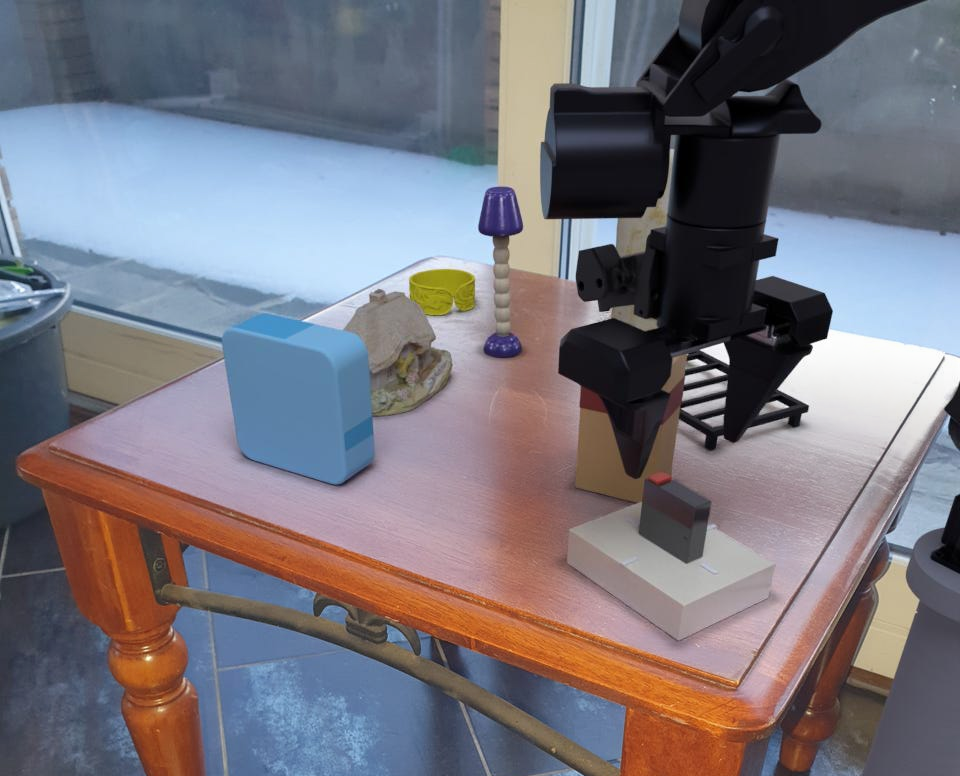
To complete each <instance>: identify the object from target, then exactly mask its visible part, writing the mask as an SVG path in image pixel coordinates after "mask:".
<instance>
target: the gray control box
mask: <svg viewBox="0 0 960 776" xmlns="http://www.w3.org/2000/svg"><path fill="white" fill-rule="evenodd" d="M712 503H713V502H712V500H710V499H709V498H708V497H706V496H703V495H701V494H699V493H698V492H696V491H694V490H693V489H691V488H689V487H687V486H685V485H684V484H681V483H680V482H678V481H677V480H674V479H673V478H672V475H671V476H669V475H667V474H665V473H664V472H659V473H656V474H654V475H651V476H649V477H648V478H646V479H645V481H644V490H643V498H642V507H641V515H640V524H639V534H640V535H642V536H643V537H645V538H647V539H648V540H650V541H651V542H653V543H655V544H656V545H658V546H659V547H661V548H663V549H664V550H666V551H667V552H669V553H671V554H672V555H674V556H675V557H677V558H679V559H680V560H682V561H683V562H685V563H689V562H691V561H693V560H696V559H698V558H700V557H702V556H703V551H704V544H705V538H706V532H707V526H708V525H709V520H710V512H711V507H712Z"/></svg>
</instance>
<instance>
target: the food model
mask: <svg viewBox="0 0 960 776" xmlns="http://www.w3.org/2000/svg"><path fill="white" fill-rule="evenodd" d="M673 156H674V148H670V163H669V173H668V180H667V185H666V189H665V192H664V195H663V197H662V198H661V199H658V201H657V205H656V207H647V209H646V211H645V213H644V215H643V216H642V218H617V223H616V237H615V238H616V239H615V247H616V249H617V251H618V254H619V256H620V257H621V256H626V255H630V254H634V253H639V252H644V251H645V249H646V240H647V237H648V235H649V234H650V232H651V229H656V228H660V227H665V226H666V220H667V211H668V202H669V193H670V184H671V174H672V165H673ZM633 312H634V305H629V306H621V307H613V308H611V313H610V319H611V318H615V319H618V320H620V321H622V322H625V323H627V324H629V325H632V326H634V327H636V328H639V329H641V330H643V331H649V330H652V329H656V328H658V327H657V320H655V319H653V318H650V319H643V318H641V317H639V316H636V315H634V314H633Z"/></svg>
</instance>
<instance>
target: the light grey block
mask: <svg viewBox="0 0 960 776" xmlns="http://www.w3.org/2000/svg"><path fill="white" fill-rule="evenodd" d="M641 507H642V502H639V503H636V502H635V503H634V504H631V505H629V506H626V507H623V508H620V509H618V510H615V511H613V512H610V513H608V514H604V515H602V516H600V517H597V518H594V519H592V520H588V521H587V522H584V523H581V524H579V525H576V526H574V527H571V528H569V529H568V539H567V553H566V555H567V556H566V564H567V565H569V566H571V567H572V568H573V569H575V570H577V572H579V573H580V574H582V575H583V576H584V577H586V578H588V579H589V580H591V582H593V583H595V584H596V585H598V586H599V587H600V588H602V589H603V590H605V591H606V592H607V593H609V594H610V595H612V596H613V597H614V598H616V599H618V600H619V601H620V602H622V603H623V604H625V605H626V606H627V607H629V608H630V609H632V610H633V611H634V612H636V613H638V614H639V615H640V616H642V617H643V618H644V619H646V620H647V621H648V622H650V623H652V624H653V625H655V626H656V627H657V628H659V629H660V630H662V631H663V632H665V633H666V634H668V635H669V636H670V637H672V638H673V639H674V640H676V641H678V642H679V641H681V640H683V639H685V638H688V637H690V636H692V635H695V634H696V633H699V632H700V631H702V630H705V629H706V628H709V627H710V626H713V625H715V624H716V623H717V624H718V623H719V622H721V621H723V620H725V619H728V618H729V617H731V616H733V615H735V614H737V613H740V612H742V611H744V610H746V609H748V608H750V607H753V606H755V605H757V604H759V603H760V602H763V601H765V600H767V599H769V597H770V596H769V595H770V591H771V586H772V582H773V578H774V573H775V568H776V562H774V561H772V560H771V559H769V558H767V557H766V556H764V555H762V554H760V553H759V552H757V551H755V550H754V549H752V548H750V547H748V546H746V545H745V544H743V543H741V542H740V541H738V540H736V539H734V538H733V537H731V536H729V535H727V534H726V533H724V532H722V531H721V530H718V529H717V527H718V526H717V525H716V524H714V523H712V524H708V526H707V532H706V538H705V544H704V551H703V556H702V557H700V558H698V559H696V560H693V561H691V562H689V563H685V562H683V561H682V560H680V559H679V558H677V557H675V556H674V555H672V554H671V553H669V552H667V551H666V550H664V549H663V548H661V547H659V546H658V545H656V544H655V543H653V542H651V541H650V540H648V539H647V538H645V537H643V536H642V535H640V534H639V524H640V515H641Z"/></svg>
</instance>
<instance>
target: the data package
mask: <svg viewBox="0 0 960 776" xmlns="http://www.w3.org/2000/svg"><path fill="white" fill-rule="evenodd" d="M221 347H222V353H223V359H224V366H225V372H226V378H227V384H228V385H227V386H228V390H229V398H230V403H231V409H232V410H231V411H232V416H233V423H234V427H235V428H234V430H235V435H236V441H237V444H238V445H237V446H238V448H240V451H241V452H242V453H243V455H245V456H246V457H247V458H248V459H250V460H252V461H255V462H257V463H261V464H264V465H267V466H271V467H275V468H278V469H281V470H285V471H288V472H291V473H293V474H298V475H301V476H304V477H308V478H311V479H314V480H317V481H321V482H324V483H327V484H331V485H335V486H336V485H337V486H338V485H341V484H343V483H344V482H346V481H347V480H349V479H350V478H351V477H353V476H354V475H356V474H357V473H359V472H360V471H361V470H363V469H364V468H366V467H368V466H369V465H370V464H372V463H373V461H374V459H375V455H376V452H375V451H376V448H375V438H374V437H375V435H374V420H373V416H372V404H371V389H370V374H369V360H368V351H367V348H366V346H365V344H364V342H363V341H362V339H361V338H360V337H359V336H357V335H356V334H354V333H352V332H348V331H343V329H339V328H334V327H330V326H325V325H321V324H316V323H313V322H312V323H311V322H307V321H303V320H298V319H294V318H290V317H285V316H281V315H276V314H272V313H269V312H267V313H266V312H262V313H260V314H257V315H255V316H253V317H251V318H248V319H246V320H244V321H242V322H240V323H237V324H234V325H233V326H230V327H228V328H226V329H225V330H224V332H223V333H222V337H221Z"/></svg>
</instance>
